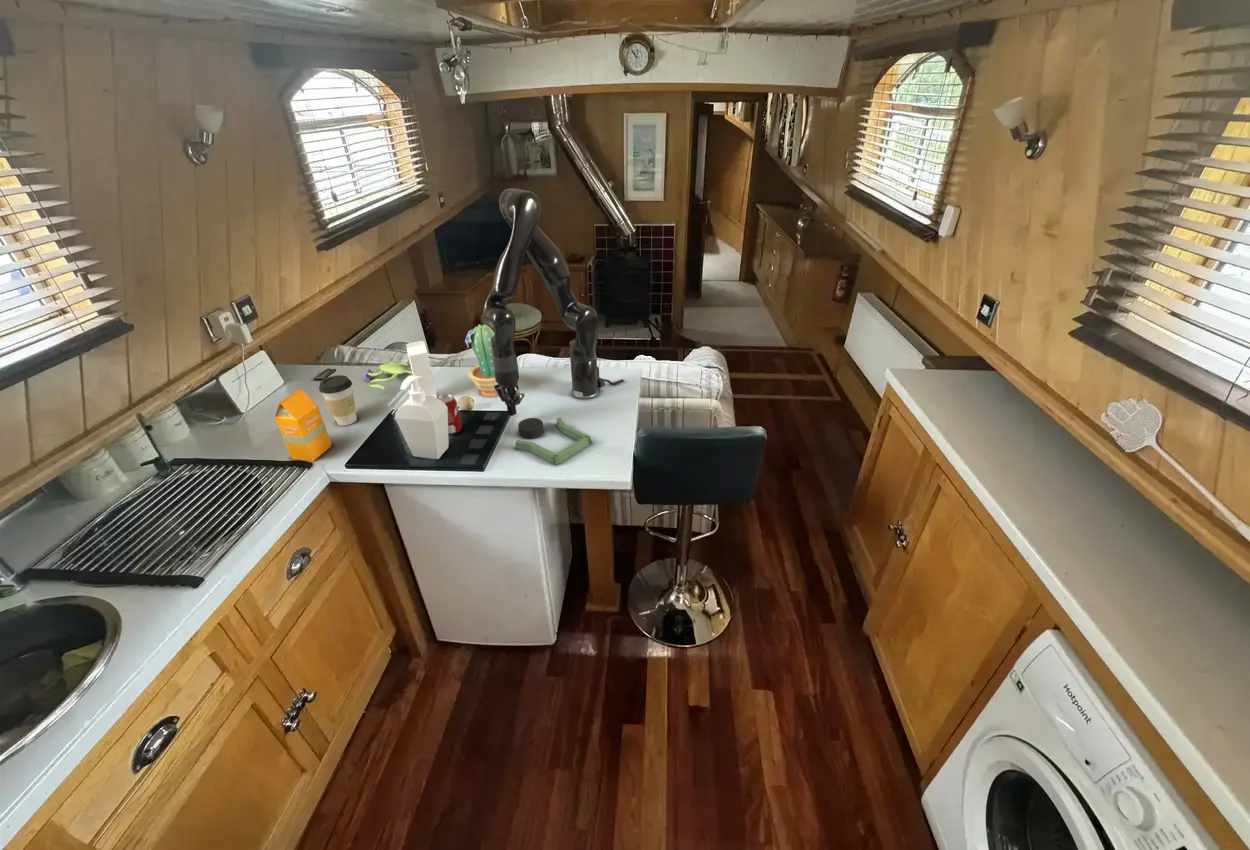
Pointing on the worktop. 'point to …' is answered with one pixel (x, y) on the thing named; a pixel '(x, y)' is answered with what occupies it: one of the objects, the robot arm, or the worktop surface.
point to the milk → (421, 366)
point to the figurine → (389, 368)
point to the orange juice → (302, 427)
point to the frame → (562, 455)
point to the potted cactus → (482, 359)
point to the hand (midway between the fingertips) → (512, 414)
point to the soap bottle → (423, 421)
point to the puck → (531, 428)
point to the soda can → (452, 413)
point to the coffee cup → (339, 398)
